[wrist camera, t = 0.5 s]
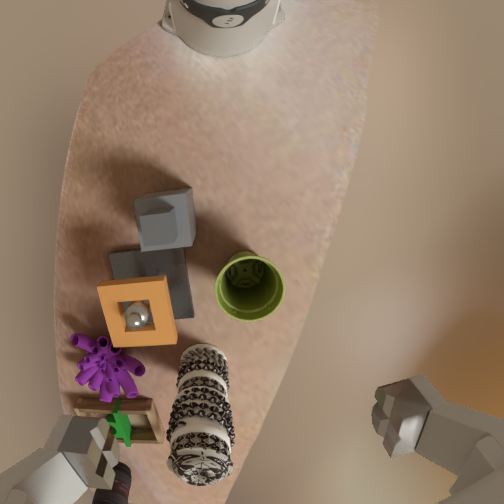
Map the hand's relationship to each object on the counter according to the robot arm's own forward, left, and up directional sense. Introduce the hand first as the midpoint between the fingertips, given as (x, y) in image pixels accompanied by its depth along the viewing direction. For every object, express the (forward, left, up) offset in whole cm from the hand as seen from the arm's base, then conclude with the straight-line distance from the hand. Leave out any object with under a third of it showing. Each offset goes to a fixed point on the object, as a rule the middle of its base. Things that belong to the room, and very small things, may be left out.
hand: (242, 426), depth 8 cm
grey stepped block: (-1, -8, -41) cm, 42 cm away
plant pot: (+10, +2, -42) cm, 43 cm away
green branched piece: (+39, -27, -41) cm, 63 cm away
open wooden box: (+39, -26, -41) cm, 63 cm away
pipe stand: (+10, -13, -41) cm, 44 cm away
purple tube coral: (+24, -23, -42) cm, 54 cm away
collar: (+10, -13, -32) cm, 36 cm away
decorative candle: (+26, -6, -42) cm, 50 cm away
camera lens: (+59, -35, -42) cm, 80 cm away
